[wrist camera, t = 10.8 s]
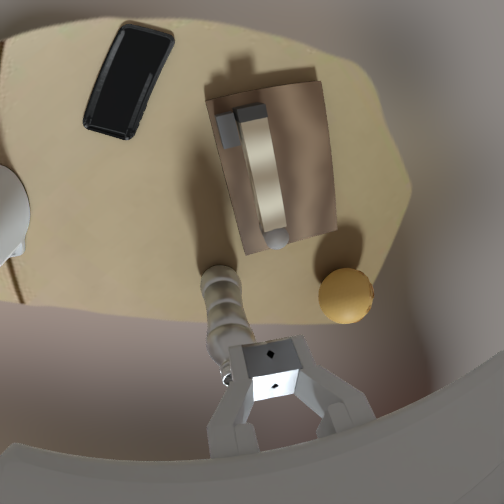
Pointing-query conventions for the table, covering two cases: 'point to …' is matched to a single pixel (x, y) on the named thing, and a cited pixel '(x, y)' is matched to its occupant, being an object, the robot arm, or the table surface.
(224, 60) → the table surface
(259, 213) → the stool leg
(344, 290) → the stress ball
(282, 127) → the seat board
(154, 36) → the phone
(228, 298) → the plastic bottle
